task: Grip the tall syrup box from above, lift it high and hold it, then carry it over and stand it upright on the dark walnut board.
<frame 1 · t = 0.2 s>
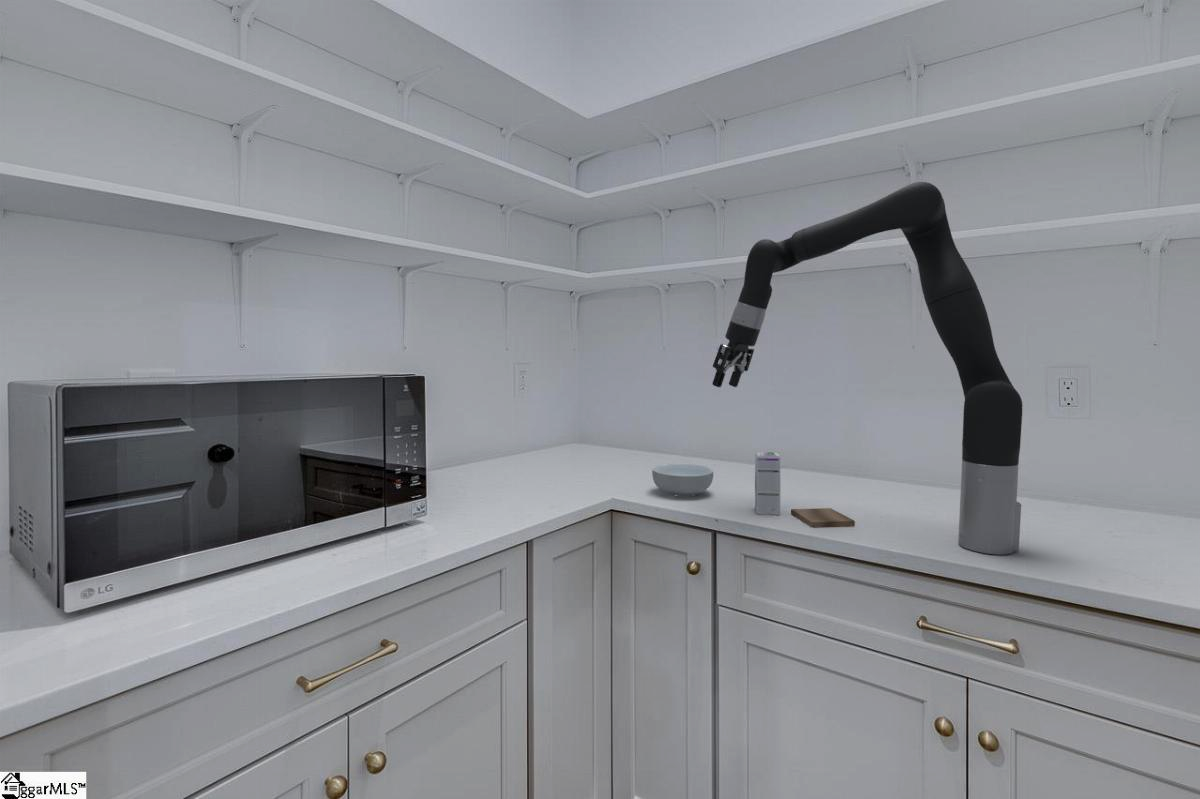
hand: (724, 386, 143), 31 cm above the countertop, tool tilted 20°, fingers open, 8 cm apart
walnut board: (821, 519, 134), on the countertop
cereal bowl: (682, 494, 160), on the countertop
syrup box: (766, 512, 141), on the countertop
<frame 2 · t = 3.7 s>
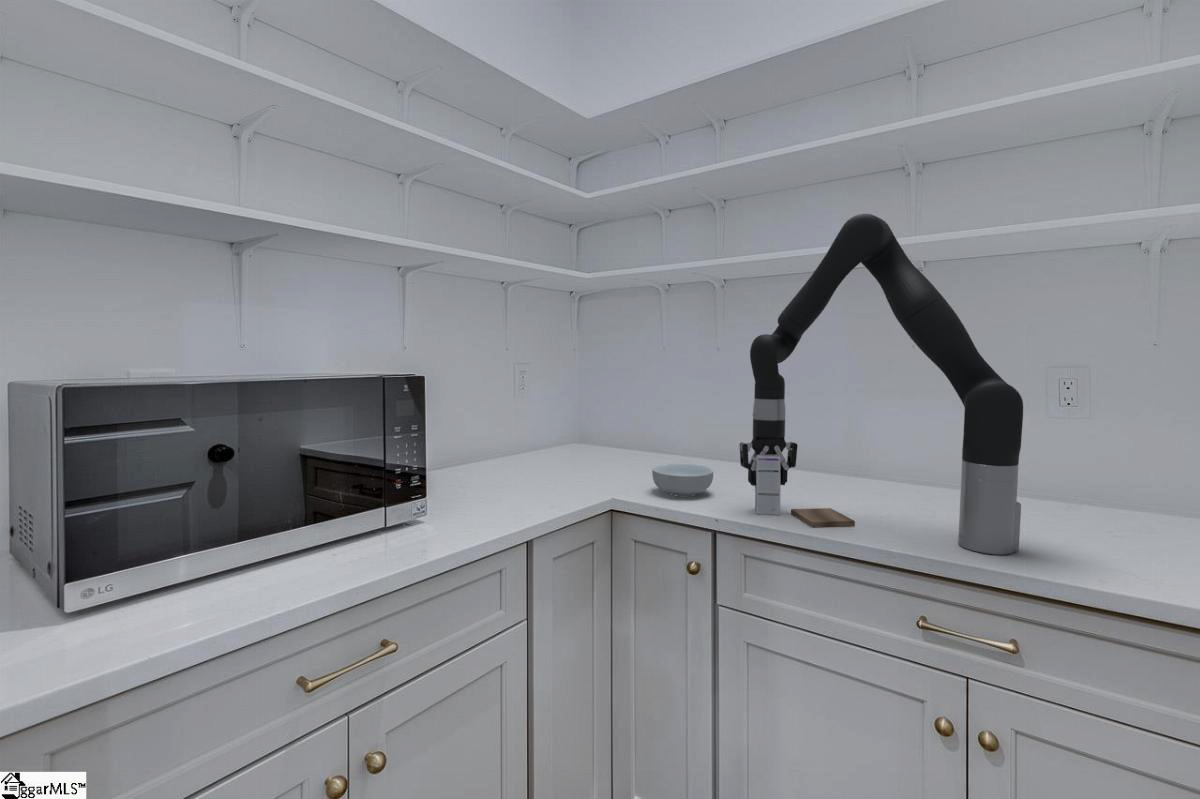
hand: (767, 484, 140), 7 cm above the countertop, tool pointing down, fingers closed on syrup box, 6 cm apart
syrup box: (766, 512, 141), on the countertop, touching gripper
everything else where it was.
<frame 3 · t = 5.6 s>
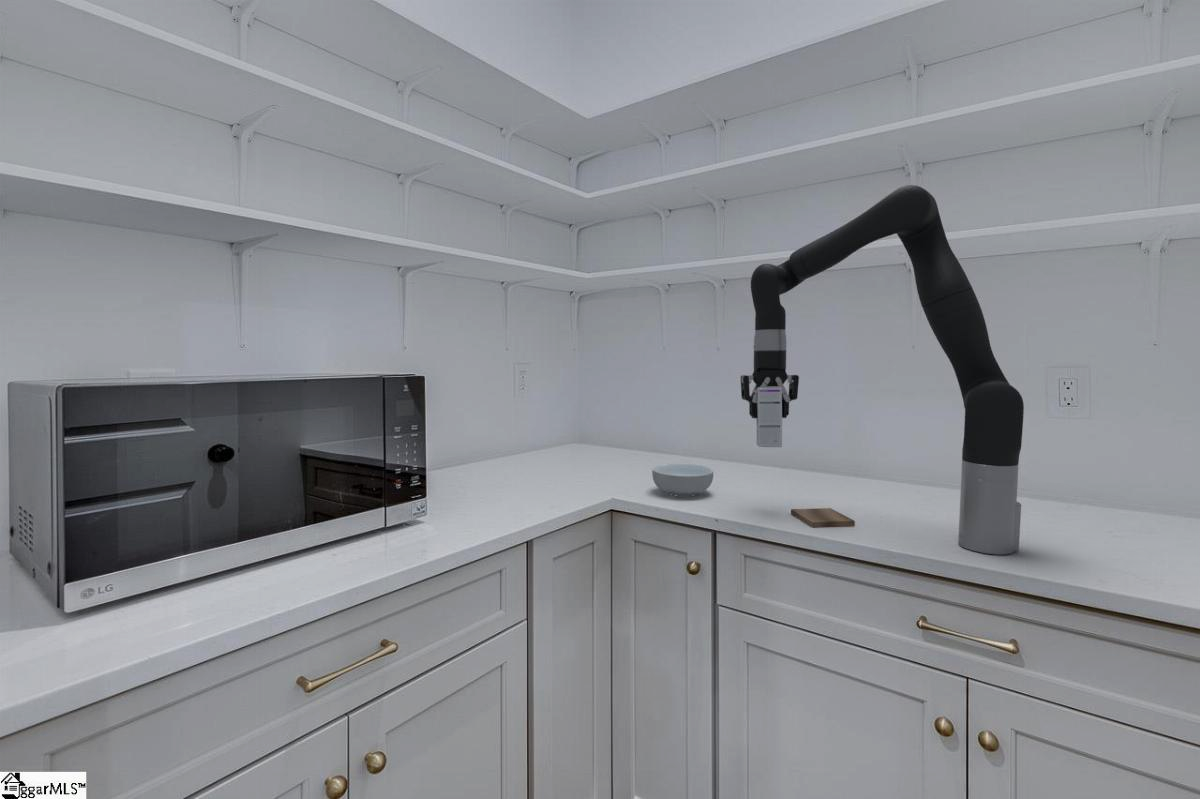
hand: (769, 417, 139), 23 cm above the countertop, tool pointing down, fingers closed on syrup box, 6 cm apart
syrup box: (768, 446, 139), point 16 cm above the countertop, touching gripper
everything else where it was.
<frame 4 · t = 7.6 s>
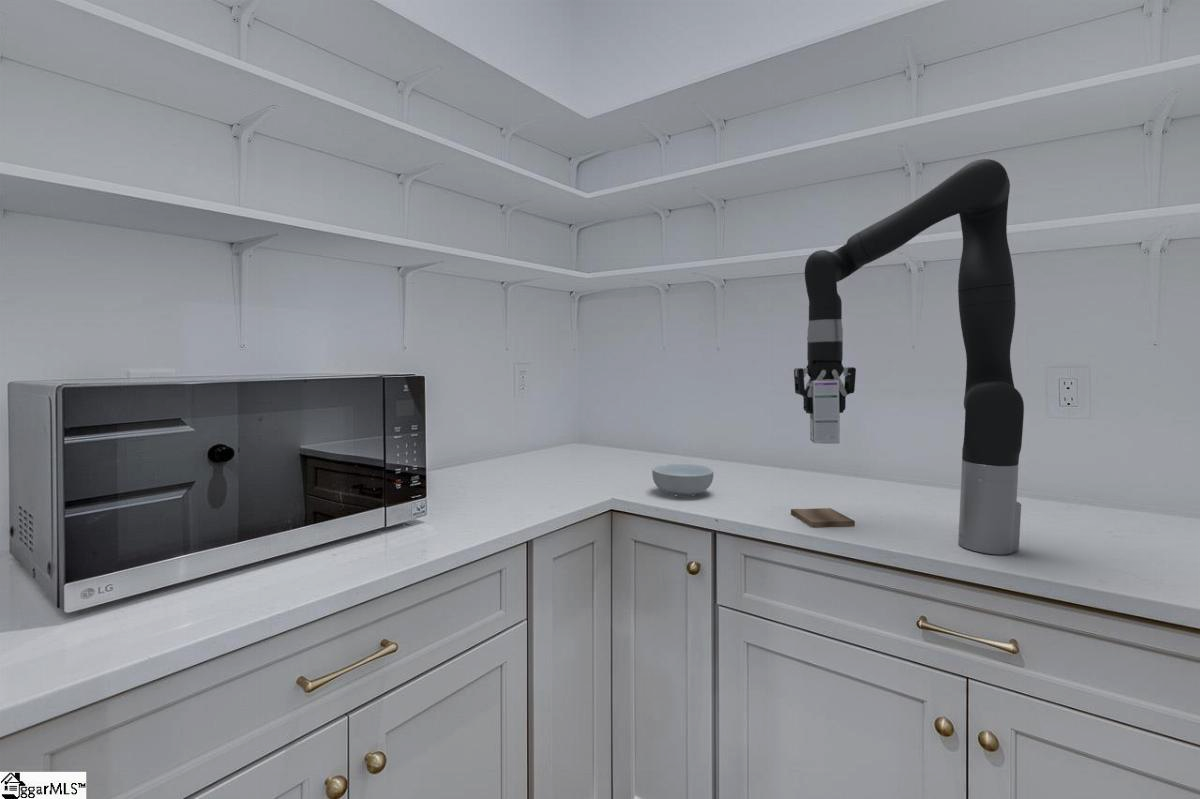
hand: (824, 412, 132), 25 cm above the countertop, tool pointing down, fingers closed on syrup box, 6 cm apart
syrup box: (824, 442, 132), point 18 cm above the countertop, touching gripper
everything else where it was.
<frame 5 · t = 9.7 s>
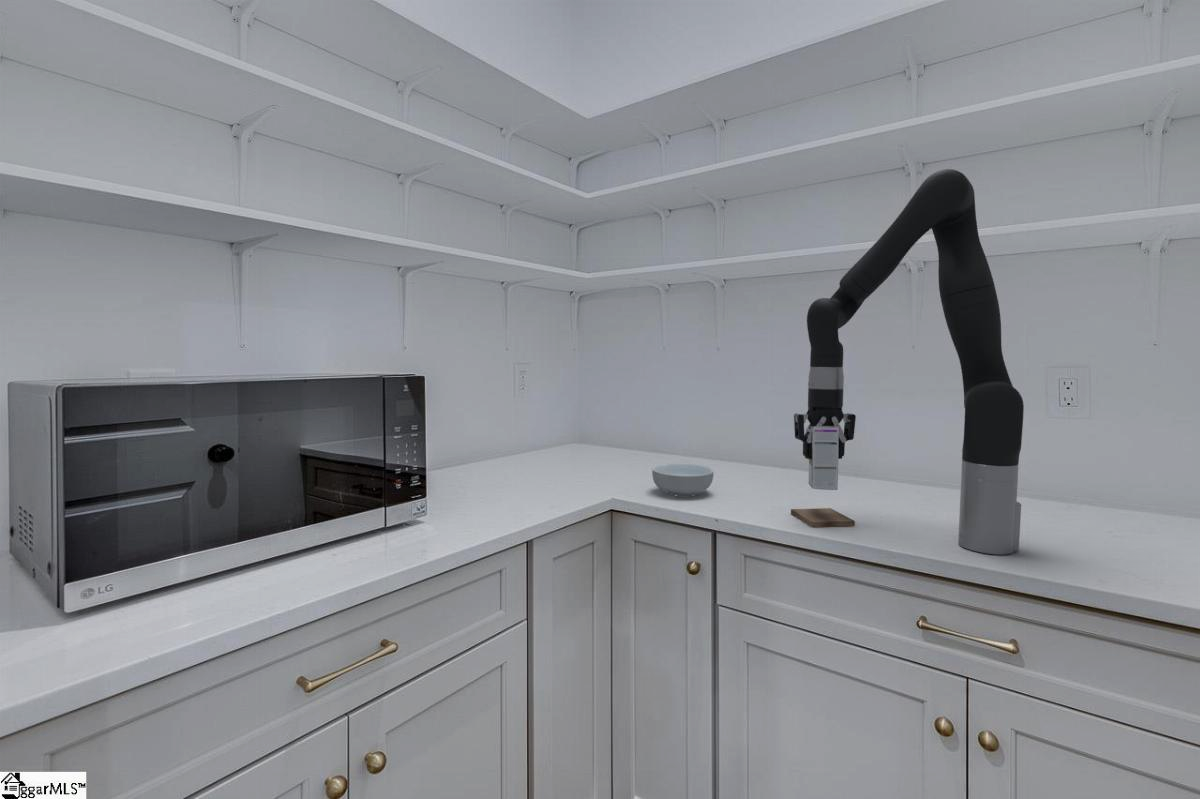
hand: (823, 458, 132), 15 cm above the countertop, tool pointing down, fingers closed on syrup box, 6 cm apart
syrup box: (822, 487, 133), point 8 cm above the countertop, touching gripper
everything else where it was.
when the fingers open (10 cm above the countertop, at t = 11.6 s): syrup box drops 2 cm, resting on walnut board.
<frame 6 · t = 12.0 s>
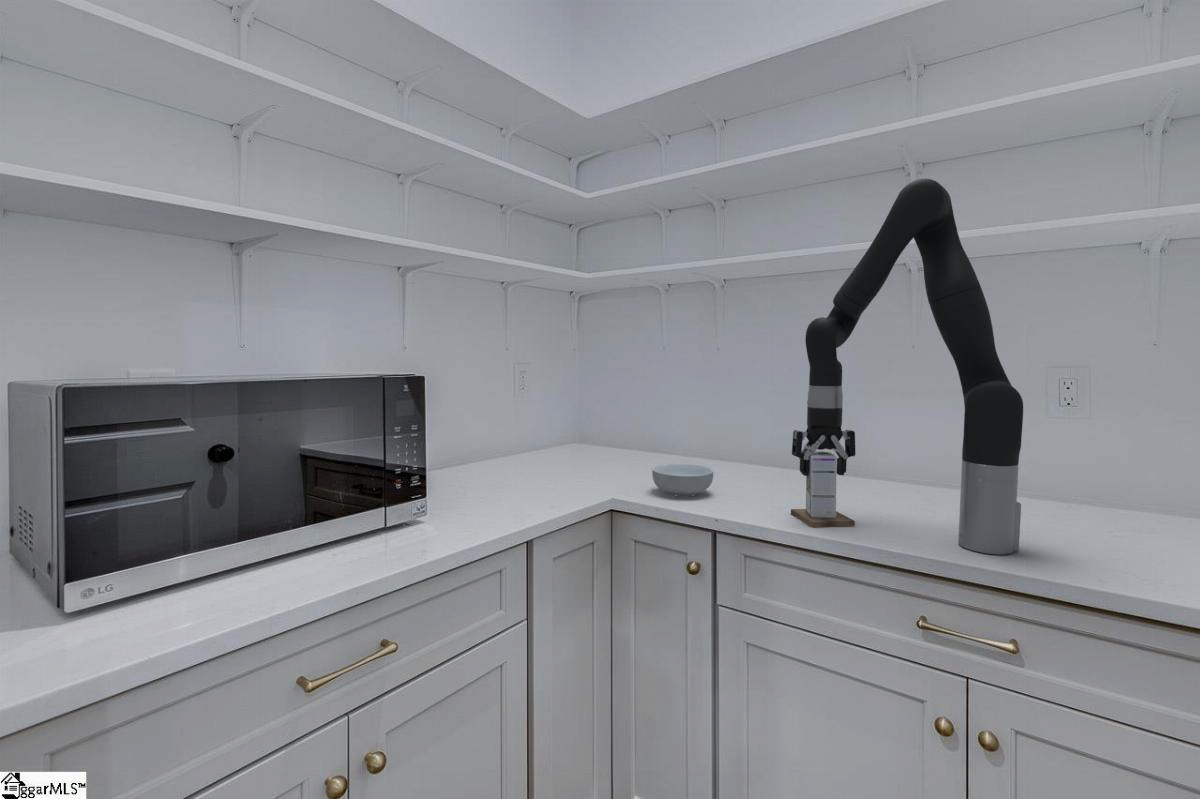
hand: (822, 475, 133), 11 cm above the countertop, tool pointing down, fingers open, 8 cm apart
syrup box: (820, 515, 133), point 1 cm above the countertop, touching walnut board
everything else where it was.
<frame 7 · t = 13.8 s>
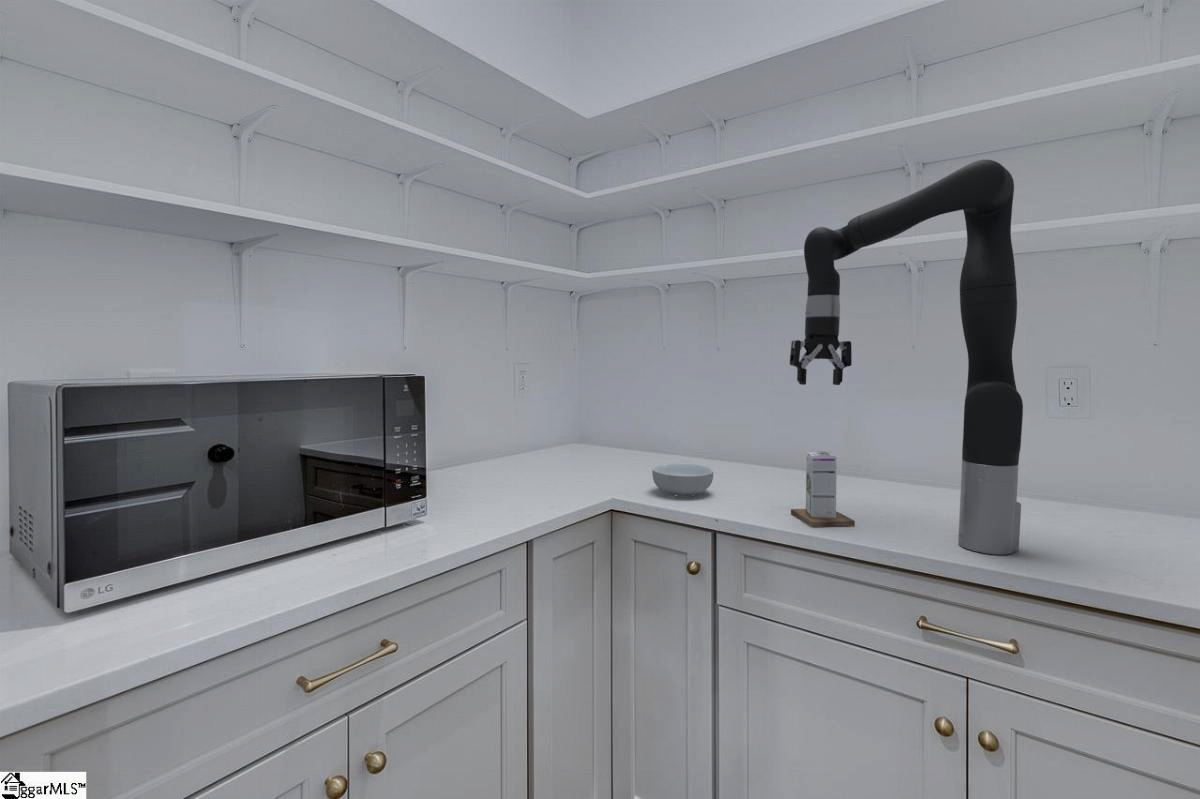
hand: (819, 384, 136), 31 cm above the countertop, tool pointing down, fingers open, 8 cm apart
nothing on the countertop moved.
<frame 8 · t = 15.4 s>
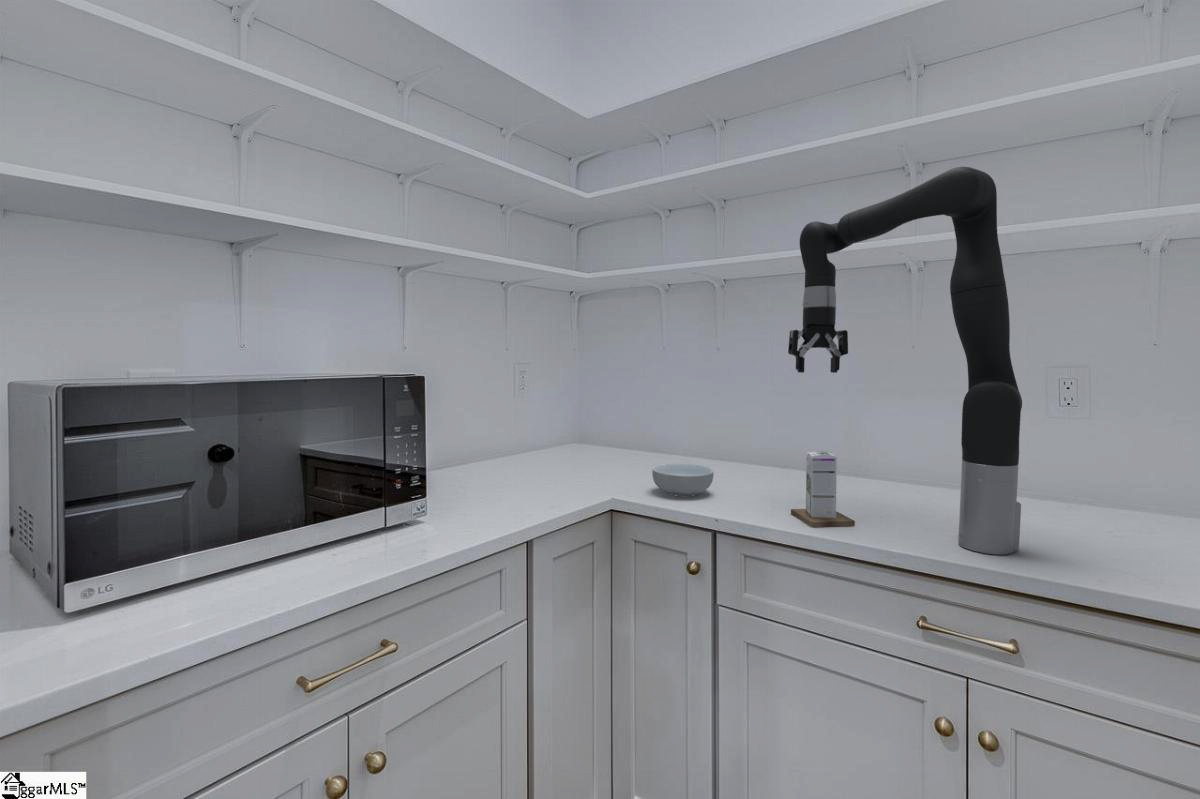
hand: (817, 372, 141), 34 cm above the countertop, tool pointing down, fingers open, 8 cm apart
nothing on the countertop moved.
at the end: syrup box inside the target area on the walnut board (0.4 cm from its centre), point 1.0 cm above the walnut board's base; syrup box tilted 0°; the gripper is holding nothing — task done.
